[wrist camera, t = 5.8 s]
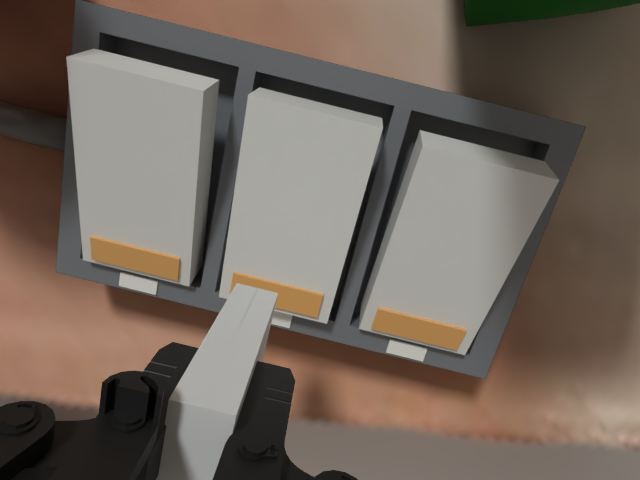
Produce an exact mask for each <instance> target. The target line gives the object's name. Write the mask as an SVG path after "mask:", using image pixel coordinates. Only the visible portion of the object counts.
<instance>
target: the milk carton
mask: <svg viewBox="0 0 640 480" xmlns="http://www.w3.org/2000/svg"><path fill="white" fill-rule="evenodd" d="M636 3H640V0H464V7H465V19H466V26H475V25H485V24H496V23H507V22H517V21H527V20H538V19H547V18H554V17H561V16H567V15H574V14H580V13H586V12H592V11H598V10H604V9H610V8H616V7H622V6H627V5H632V4H636Z"/></svg>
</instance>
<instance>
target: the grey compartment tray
mask: <svg viewBox="0 0 640 480" xmlns="http://www.w3.org/2000/svg"><path fill="white" fill-rule="evenodd" d="M90 49H98V50H102V51H106V52H110V53H114V54H118V55H122V56H126V57H130V58H134V59H138V60H142V61H146V62H150V63H154V64H158V65H162V66H166V67H170V68H174V69H178V70H182V71H186V72H190V73H194V74H198V75H202V76H206V77H210V78H214V79H218V80H219V90H218V101H217V112H216V123H215V134H214V145H213V156H212V167H211V178H210V189H209V200H208V212H207V223H206V234H205V245H204V256H203V265H202V267H201V268H200V270H199V271H198V273H197V275H196V276H195V278H194V280H193V281H192V283H191V285H190V286H185V285H181V284H177V283H173V282H169V281H165V280H161V279H157V278H153V277H149V276H145V275H141V274H137V273H133V272H129V271H125V270H121V269H117V268H113V267H109V266H105V265H101V264H97V263H93V262H89V261H85V260H83V254H82V241H81V229H80V217H79V205H78V193H77V181H76V168H75V156H74V144H73V132H72V120H71V108H70V95H68V109H67V118H63V117H59V116H55V115H51V114H47V113H43V112H39V111H35V110H31V109H27V108H23V107H19V106H15V105H11V104H7V103H3V102H0V136H3V137H7V138H11V139H15V140H19V141H23V142H27V143H31V144H35V145H39V146H43V147H47V148H51V149H55V150H59V151H63V152H64V165H63V179H62V193H61V207H60V221H59V235H58V249H57V263H56V272H57V273H61V274H65V275H69V276H73V277H77V278H81V279H85V280H90V281H94V282H98V283H102V284H106V285H110V286H114V287H118V288H122V289H126V290H130V291H134V292H138V293H142V294H146V295H150V296H154V297H158V298H162V299H166V300H170V301H174V302H178V303H182V304H186V305H190V306H194V307H198V308H202V309H206V310H210V311H214V312H218V313H220V311H221V309H222V308H223V306H224V304H225V302H226V301H227V299H225V298H221V297H219V291H220V285H221V278H222V271H223V264H224V257H225V250H226V244H227V237H228V230H229V223H230V216H231V209H232V202H233V196H234V189H235V182H236V175H237V168H238V161H239V154H240V148H241V141H242V134H243V127H244V120H245V113H246V106H247V100H248V94H250V93H251V92H253V91H254V90H256V89H258V88H259V87H260V88H264V89H268V90H272V91H276V92H280V93H284V94H288V95H292V96H296V97H300V98H304V99H308V100H312V101H316V102H320V103H324V104H328V105H332V106H336V107H340V108H344V109H348V110H352V111H356V112H360V113H364V114H368V115H372V116H376V117H380V118H382V121H383V130H382V133H381V137H380V140H379V144H378V147H377V151H376V154H375V158H374V161H373V165H372V168H371V172H370V175H369V179H368V182H367V186H366V189H365V193H364V196H363V200H362V203H361V207H360V210H359V214H358V217H357V221H356V224H355V228H354V231H353V235H352V238H351V242H350V245H349V249H348V252H347V256H346V259H345V263H344V266H343V270H342V273H341V277H340V280H339V284H338V287H337V291H336V294H335V298H334V301H333V305H332V308H331V312H330V315H329V319H328V322H327V324H325V323H321V322H317V321H313V320H309V319H305V318H301V317H297V316H293V315H289V314H285V313H281V312H277V311H274V314H273V318H272V322H271V326H274V327H278V328H282V329H286V330H290V331H294V332H298V333H302V334H306V335H310V336H314V337H318V338H322V339H326V340H330V341H334V342H338V343H342V344H346V345H350V346H354V347H358V348H363V349H367V350H371V351H375V352H379V353H383V354H387V355H391V356H395V357H399V358H403V359H407V360H411V361H415V362H419V363H423V364H427V365H431V366H435V367H439V368H443V369H447V370H451V371H455V372H459V373H463V374H467V375H471V376H475V377H479V378H483V379H485V378H486V375H487V373H488V370H489V368H490V365H491V363H492V360H493V358H494V355H495V353H496V350H497V348H498V345H499V343H500V340H501V338H502V335H503V333H504V330H505V328H506V325H507V323H508V320H509V318H510V315H511V313H512V310H513V308H514V305H515V303H516V300H517V298H518V295H519V293H520V290H521V288H522V285H523V283H524V280H525V278H526V276H527V273H528V271H529V268H530V266H531V263H532V261H533V258H534V256H535V253H536V251H537V248H538V246H539V243H540V241H541V238H542V236H543V233H544V231H545V228H546V226H547V223H548V221H549V218H550V216H551V213H552V211H553V208H554V206H555V203H556V201H557V198H558V196H559V193H560V191H561V188H562V186H563V183H564V181H565V178H566V176H567V173H568V171H569V168H570V166H571V163H572V161H573V158H574V156H575V153H576V151H577V148H578V146H579V143H580V141H581V139H582V136H583V134H584V131H585V129H586V127H585V126H581V125H577V124H573V123H569V122H565V121H561V120H557V119H553V118H549V117H545V116H541V115H537V114H533V113H529V112H525V111H521V110H517V109H513V108H509V107H505V106H501V105H497V104H493V103H489V102H485V101H481V100H477V99H473V98H469V97H465V96H461V95H457V94H453V93H449V92H445V91H441V90H437V89H433V88H429V87H425V86H421V85H417V84H413V83H409V82H405V81H401V80H397V79H393V78H389V77H386V76H382V75H378V74H374V73H370V72H366V71H362V70H358V69H354V68H350V67H346V66H342V65H338V64H334V63H330V62H326V61H322V60H318V59H314V58H310V57H306V56H302V55H298V54H294V53H290V52H286V51H282V50H278V49H274V48H270V47H266V46H262V45H258V44H254V43H250V42H246V41H242V40H238V39H234V38H230V37H226V36H222V35H218V34H214V33H210V32H206V31H202V30H198V29H194V28H190V27H186V26H182V25H178V24H174V23H170V22H166V21H162V20H158V19H154V18H150V17H146V16H142V15H138V14H134V13H130V12H126V11H122V10H118V9H114V8H110V7H106V6H102V5H98V4H94V3H90V2H86V1H82V0H75V11H74V25H73V39H72V53H71V55H74V54H77V53H80V52H84V51H87V50H90ZM420 130H422V131H426V132H430V133H433V134H437V135H441V136H445V137H449V138H453V139H457V140H461V141H465V142H469V143H473V144H477V145H481V146H485V147H489V148H493V149H497V150H501V151H505V152H509V153H513V154H517V155H521V156H525V157H529V158H533V159H537V160H541V161H545V162H546V163H547V165H548V166H549V167H550V169H551V170H552V171H553V172H554V174H555V175H556V176H557V178H558V179H559V182H558V184H557V186H556V188H555V189H554V191H553V193H552V195H551V197H550V199H549V200H548V202H547V204H546V206H545V208H544V210H543V212H542V213H541V215H540V217H539V219H538V221H537V223H536V225H535V226H534V228H533V230H532V232H531V234H530V236H529V237H528V239H527V241H526V243H525V245H524V247H523V249H522V250H521V252H520V254H519V256H518V258H517V260H516V261H515V263H514V265H513V267H512V269H511V271H510V273H509V274H508V276H507V278H506V280H505V282H504V284H503V286H502V287H501V289H500V291H499V293H498V295H497V297H496V298H495V300H494V302H493V304H492V306H491V308H490V310H489V311H488V313H487V315H486V317H485V319H484V321H483V322H482V324H481V326H480V328H479V330H478V332H477V334H476V335H475V337H474V339H473V341H472V343H471V345H470V347H469V348H468V350H467V352H466V354H465V355H462V354H458V353H454V352H450V351H446V350H442V349H438V348H434V347H430V346H426V345H422V344H418V343H414V342H410V341H406V340H402V339H398V338H394V337H389V336H385V335H381V334H377V333H373V332H369V331H365V330H361V329H359V321H360V309H361V302H362V299H363V296H364V293H365V290H366V288H367V285H368V282H369V279H370V276H371V273H372V270H373V267H374V264H375V261H376V258H377V255H378V252H379V249H380V246H381V243H382V240H383V237H384V234H385V231H386V228H387V226H388V223H389V220H390V217H391V214H392V211H393V208H394V205H395V202H396V199H397V196H398V193H399V190H400V187H401V184H402V181H403V178H404V175H405V172H406V169H407V167H408V164H409V161H410V158H411V155H412V152H413V149H414V146H415V143H416V140H417V137H418V134H419V131H420Z"/></svg>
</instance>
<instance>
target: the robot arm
mask: <svg viewBox="0 0 640 480" xmlns="http://www.w3.org/2000/svg"><path fill="white" fill-rule="evenodd" d="M277 296H278V293H276V292H272V291H268V290H264V289H260V288H255V287H251V286H247V285H243V284H239V283H237V284H236V285H235V287H234V289H233V290H232V292H231V294H230V296H229V297H228V299H227V301H226V302H225V304H224V306H223V308H222V309H221V311H220V313H219V314H218V316H217V318H216V320H215V321H214V323H213V325H212V326H211V328H210V330H209V331H208V333H207V335H206V337H205V338H204V340H203V342H202V343H201V345H200V347H199V348H195V347H191V346H187V345H183V344H179V343H174V342H172V343H170V344H168V345H167V346H165V347H163V348H161V349H159V350H158V352H157V353H156V355H155V356H154V357H153V359H152V360H151V362H150V363H149V364H148V365H147V367H146V368H145V370H144V371H143V372H140V371H126V372H120V373H117V374H115V375H112V376H110V377H109V378H107V379H106V380H105V381H103V382H102V390H101V399H100V408H99V414H98V415H97V417H96V418H93V419H89V420H81V421H55V415H54V412H53V410H52V409H51V408H49V407H48V406H47V405H45V404H42V403H38V402H35V401H19V402H15V403H10V404H6V405H4V406H1V407H0V480H357V479H356V478H355V477H353V476H351V475H349V474H347V473H345V472H341V471H335V470H331V471H324V472H322V473H320V474H319V475H317V476H316V477H315V478H314V477H312V476H310V475H309V474H307V473H305V472H303V471H302V470H300V469H299V468H297V467H296V466H295V465H294V464H293V463H292V462H291V461H290V459H289V457H288V456H287V454H286V451H285V448H284V441H285V435H286V430H287V424H288V418H289V413H290V407H291V401H292V396H293V390H294V384H295V379H294V377H293V374H292V372H291V370H290V369H289V368H285V367H281V366H276V365H272V364H268V363H264V362H262V361H263V357H264V353H265V348H266V344H267V340H268V335H269V331H270V327H271V322H272V318H273V314H274V309H275V305H276V301H277Z"/></svg>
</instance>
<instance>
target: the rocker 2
mask: <svg viewBox="0 0 640 480" xmlns="http://www.w3.org/2000/svg"><path fill="white" fill-rule="evenodd" d="M382 130H383V121H382V118H380V117H376V116H372V115H368V114H364V113H360V112H356V111H352V110H348V109H344V108H340V107H336V106H332V105H328V104H324V103H320V102H316V101H312V100H308V99H304V98H300V97H296V96H292V95H288V94H284V93H280V92H276V91H272V90H268V89H264V88H260V87H259V88H258V89H256V90H254V91H253V92H251V93H250V94H248V100H247V106H246V113H245V120H244V127H243V134H242V141H241V148H240V154H239V161H238V168H237V175H236V182H235V189H234V196H233V202H232V209H231V216H230V223H229V230H228V237H227V244H226V250H225V257H224V264H223V271H222V278H221V285H220V291H219V297H221V298H225V299H228V297H229V296H230V294H231V292H232V290H233V289H234V287H235V285H236V284H237V283H239V284H243V285H247V286H251V287H255V288H260V289H264V290H268V291H272V292H276V293H278V296H277V301H276V305H275V309H274V311H277V312H281V313H285V314H289V315H293V316H297V317H301V318H305V319H309V320H313V321H317V322H321V323H325V324H327V322H328V319H329V315H330V312H331V308H332V305H333V301H334V298H335V294H336V291H337V287H338V284H339V280H340V277H341V273H342V270H343V266H344V263H345V259H346V256H347V252H348V249H349V245H350V242H351V238H352V235H353V231H354V228H355V224H356V221H357V217H358V214H359V210H360V207H361V203H362V200H363V196H364V193H365V189H366V186H367V182H368V179H369V175H370V172H371V168H372V165H373V161H374V158H375V154H376V151H377V147H378V144H379V140H380V137H381V133H382Z"/></svg>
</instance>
